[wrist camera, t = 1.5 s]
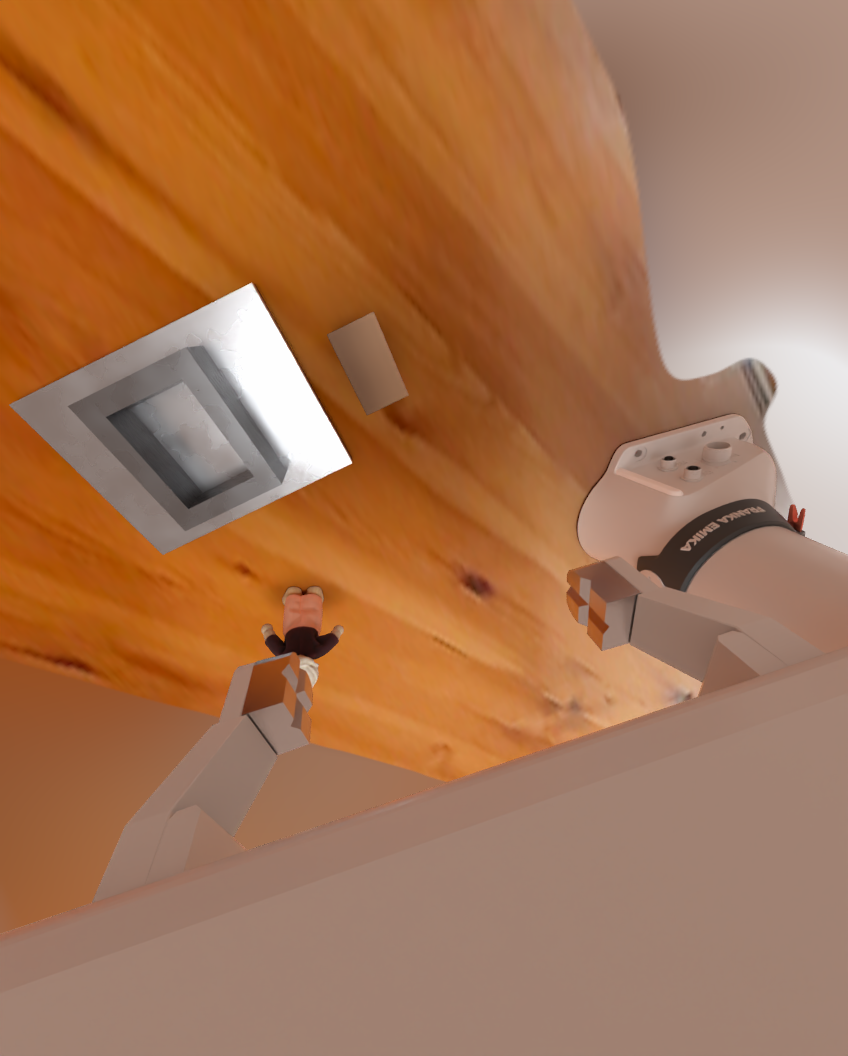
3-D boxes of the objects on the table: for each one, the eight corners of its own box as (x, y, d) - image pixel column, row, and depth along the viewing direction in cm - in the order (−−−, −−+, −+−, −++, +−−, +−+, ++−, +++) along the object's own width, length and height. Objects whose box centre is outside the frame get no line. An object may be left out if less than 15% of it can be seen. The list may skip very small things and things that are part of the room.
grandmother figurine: (277, 614, 41) (253, 715, 30) (269, 587, 39) (241, 685, 28) (345, 604, 42) (346, 698, 32) (340, 578, 41) (340, 668, 30)
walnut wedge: (364, 317, 29) (373, 311, 21) (390, 378, 32) (408, 395, 23) (331, 334, 29) (327, 334, 21) (360, 392, 32) (367, 415, 23)
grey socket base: (255, 284, 27) (239, 276, 23) (352, 459, 34) (353, 476, 30) (21, 402, 27) (-35, 414, 23) (168, 548, 35) (145, 576, 31)
